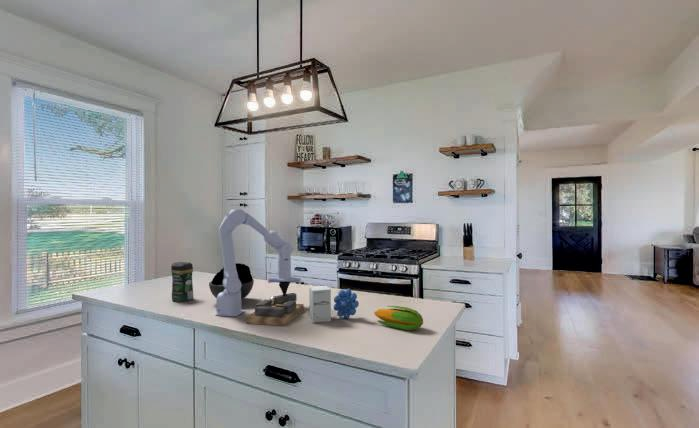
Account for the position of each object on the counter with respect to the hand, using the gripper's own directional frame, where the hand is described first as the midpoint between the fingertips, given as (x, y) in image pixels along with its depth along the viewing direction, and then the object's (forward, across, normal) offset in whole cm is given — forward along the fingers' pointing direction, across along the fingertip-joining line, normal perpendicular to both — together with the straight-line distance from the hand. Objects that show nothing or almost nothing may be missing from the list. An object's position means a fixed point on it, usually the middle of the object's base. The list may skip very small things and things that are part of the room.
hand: (284, 298), depth 155 cm
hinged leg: (+1, 0, -4) cm, 4 cm away
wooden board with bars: (+3, 0, -15) cm, 15 cm away
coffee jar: (+4, -53, +11) cm, 54 cm away
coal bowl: (+4, -27, +6) cm, 28 cm away
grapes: (+3, +29, -17) cm, 34 cm away
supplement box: (+3, +18, -19) cm, 27 cm away
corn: (+3, +48, -27) cm, 55 cm away
